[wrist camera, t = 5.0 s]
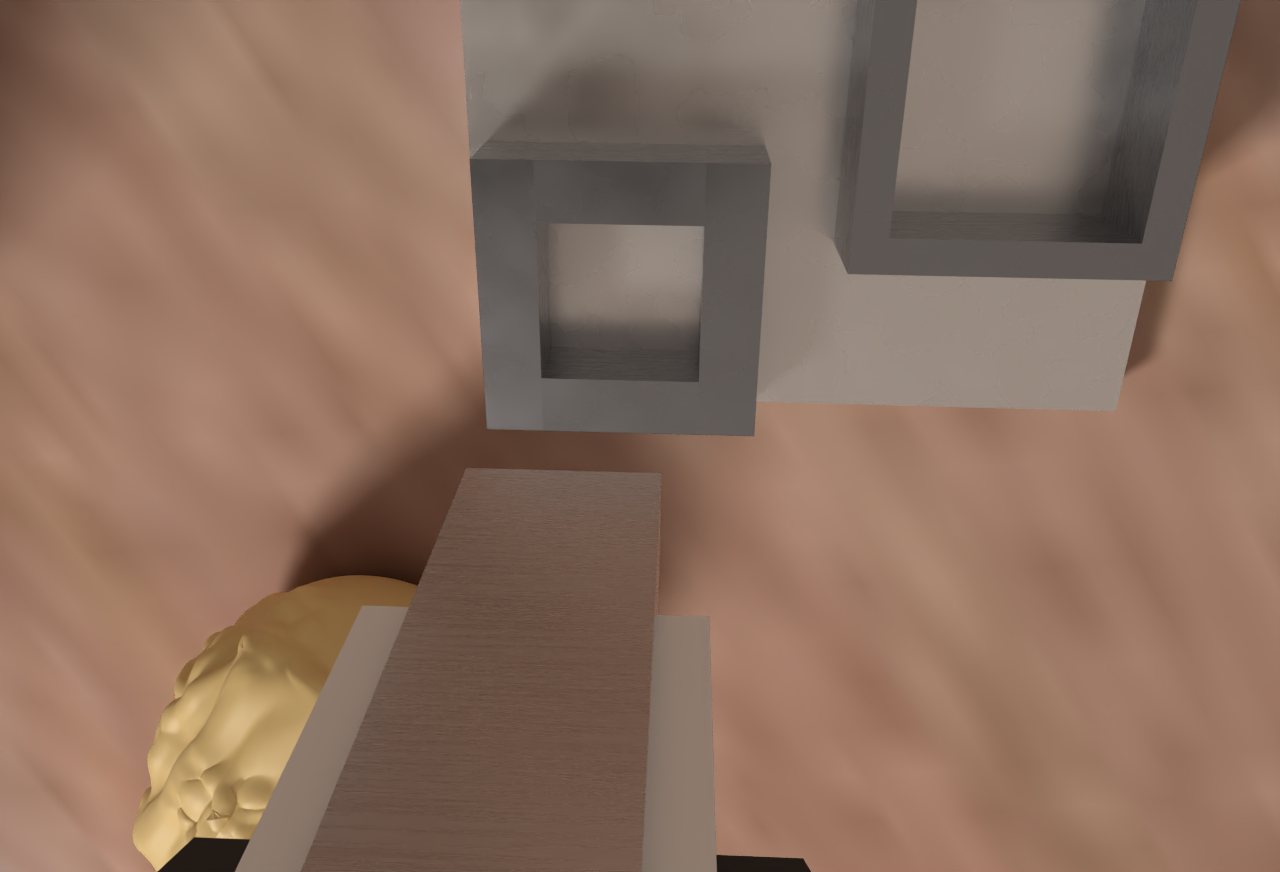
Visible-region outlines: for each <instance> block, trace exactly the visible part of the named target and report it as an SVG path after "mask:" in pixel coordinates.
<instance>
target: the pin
mask: <svg viewBox="0 0 1280 872" xmlns="http://www.w3.org/2000/svg"><path fill="white" fill-rule="evenodd" d="M660 522H661V473H641V472H604V471H566V470H529V469H492V468H466V470H465V472H464V474H463V477H462V479H461V482H460V484H459V487H458V489H457V492H456V494H455V496H454V499H453V501H452V504H451V506H450V509H449V511H448V513H447V516H446V518H445V521H444V523H443V526H442V528H441V531H440V533H439V535H438V538H437V540H436V543H435V545H434V548H433V550H432V553H431V555H430V557H429V560H428V562H427V565H426V567H425V570H424V572H423V574H422V577H421V579H420V582H419V584H418V587H417V589H416V592H415V594H414V596H413V599H412V601H411V604H410V606H409V609H408V611H407V613H406V616H405V618H404V621H403V623H402V626H401V628H400V631H399V633H398V635H397V638H396V640H395V643H394V645H393V648H392V650H391V653H390V655H389V657H388V660H387V662H386V665H385V667H384V670H383V672H382V674H381V677H380V679H379V682H378V684H377V687H376V689H375V692H374V694H373V696H372V699H371V701H370V704H369V706H368V709H367V711H366V713H365V716H364V718H363V721H362V723H361V726H360V728H359V731H358V733H357V735H356V738H355V740H354V743H353V745H352V748H351V750H350V753H349V755H348V757H347V760H346V762H345V765H344V767H343V770H342V772H341V774H340V777H339V779H338V782H337V784H336V787H335V789H334V792H333V794H332V796H331V799H330V801H329V804H328V806H327V809H326V811H325V814H324V816H323V818H322V821H321V823H320V826H319V828H318V831H317V833H316V835H315V838H314V840H313V843H312V845H311V848H310V850H309V853H308V855H307V857H306V860H305V862H304V865H303V867H302V870H301V872H642V861H643V841H644V820H645V800H646V780H647V760H648V740H649V720H650V700H651V680H652V660H653V640H654V620H655V615H659V575H660Z"/></svg>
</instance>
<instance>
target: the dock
mask: <svg viewBox="0 0 1280 872" xmlns="http://www.w3.org/2000/svg"><path fill="white" fill-rule="evenodd" d="M1240 1H1241V0H460V5H461V21H462V37H463V52H464V68H465V84H466V100H467V115H468V131H469V147H470V172H471V187H472V203H473V219H474V234H475V250H476V266H477V281H478V297H479V312H480V328H481V344H482V359H483V375H484V391H485V406H486V422H487V429H505V430H542V431H579V432H616V433H653V434H689V435H726V436H754V429H755V413H756V402H786V403H824V404H863V405H902V406H940V407H979V408H1018V409H1056V410H1095V411H1116V408H1117V403H1118V399H1119V395H1120V391H1121V386H1122V382H1123V378H1124V373H1125V369H1126V365H1127V361H1128V356H1129V352H1130V348H1131V344H1132V339H1133V335H1134V331H1135V326H1136V322H1137V318H1138V314H1139V309H1140V305H1141V301H1142V297H1143V292H1144V288H1145V284H1146V281H1172V278H1173V274H1174V270H1175V266H1176V262H1177V258H1178V253H1179V249H1180V245H1181V241H1182V237H1183V233H1184V229H1185V225H1186V221H1187V217H1188V213H1189V209H1190V205H1191V201H1192V196H1193V192H1194V188H1195V184H1196V180H1197V176H1198V172H1199V168H1200V164H1201V160H1202V156H1203V152H1204V148H1205V143H1206V139H1207V135H1208V131H1209V127H1210V123H1211V119H1212V115H1213V111H1214V107H1215V103H1216V99H1217V95H1218V91H1219V86H1220V82H1221V78H1222V74H1223V70H1224V66H1225V62H1226V58H1227V54H1228V50H1229V46H1230V42H1231V38H1232V34H1233V29H1234V25H1235V21H1236V17H1237V13H1238V9H1239V5H1240Z"/></svg>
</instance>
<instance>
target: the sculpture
mask: <svg viewBox="0 0 1280 872" xmlns="http://www.w3.org/2000/svg"><path fill="white" fill-rule="evenodd" d="M417 587H418V586H417V585H414V584H411V583H408V582H405V581H401V580H397V579H392V578H386V577H379V576H368V575H349V576H339V577H332V578H327V579H323V580H319V581H315V582H312V583H309V584H306V585H303V586H300V587H297V588H295V589H293V590H292V591H289V592H280V593H274V594H272V595H269V596H267V597H266V598H264V599H262V600H261V601H260V602H258V603H257V604H256V605H254V606H253V607H251V608H250V609H249V610H247V611H246V612H245V613H244V614H243V615H242V616H241V617H240V618H239V619H238V620H237V622H236V623H235V625H233V626H230V627H227V628H225V629H224V630H222V631H221V632H217V633H215V634H213V635H212V636H210V637H209V639H208V640H207V641H206V643H205V645H204V648H203V652H202V653H201V654H200V655H198V656H197V657H196V658H194V659H192V660H191V661H189V662H188V663H187V664H186V665H185V666H184V668H183V669H182V671H181V672H180V674H179V675H178V677H177V680H176V683H175V687H174V692H175V700H173V701H172V702H171V703H170V704H169V705H168V706H167V707H166V708H165V709H164V711H163V714H162V718H161V720H160V722H159V724H158V726H157V729H156V733H155V741H154V743H153V744H152V746H151V748H150V750H149V753H148V758H147V762H148V769H149V773H150V777H151V787H150V788H148V789H147V790H146V792H145V793H144V794H143V796H142V799H141V802H140V807H139V809H138V812H137V816H136V820H135V824H134V829H133V841H134V844H135V846H136V848H137V849H138V850H139V851H140V852H142V853H143V855H144V856H145V857H146V858H147V859H148V860H149V861H150V863H151V864H152V865H153V867H154V868H155V870H156V872H158V871H159V870H160V869H161V868H162V867H163V866H164V865H165V864H166V863H167V862H168V861H169V860H170V859H171V858H173V857H174V856H175V855H176V854H177V853H178V852H179V851H180V850H181V849H182V848H183V847H184V846H185V845H186V844H187V843H188V842H190V841H191V840H192V839H193V838H194V837H202V838H228V839H251V837H252V835H253V833H254V831H255V829H256V827H257V824H258V822H259V820H260V818H261V816H262V814H263V812H264V810H265V808H266V806H267V804H268V801H269V799H270V797H271V795H272V793H273V791H274V789H275V787H276V785H277V783H278V781H279V778H280V776H281V774H282V772H283V770H284V768H285V766H286V764H287V762H288V760H289V758H290V756H291V753H292V751H293V749H294V747H295V745H296V743H297V741H298V739H299V737H300V735H301V733H302V730H303V728H304V726H305V724H306V722H307V720H308V718H309V716H310V714H311V712H312V710H313V707H314V705H315V703H316V701H317V699H318V697H319V695H320V693H321V691H322V689H323V687H324V685H325V682H326V680H327V678H328V676H329V674H330V672H331V670H332V668H333V666H334V664H335V662H336V659H337V657H338V655H339V653H340V651H341V649H342V647H343V645H344V643H345V641H346V639H347V636H348V634H349V632H350V630H351V628H352V626H353V624H354V622H355V620H356V618H357V616H358V614H359V611H360V609H361V607H362V606H393V607H409V606H410V604H411V601H412V599H413V596H414V594H415V592H416V589H417Z"/></svg>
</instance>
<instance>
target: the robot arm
mask: <svg viewBox="0 0 1280 872" xmlns="http://www.w3.org/2000/svg"><path fill="white" fill-rule="evenodd" d="M408 609H409V607H393V606H362V607H361V609H360V611H359V614H358V616H357V618H356V620H355V622H354V624H353V626H352V628H351V630H350V632H349V634H348V636H347V639H346V641H345V643H344V645H343V647H342V649H341V651H340V653H339V655H338V657H337V659H336V662H335V664H334V666H333V668H332V670H331V672H330V674H329V676H328V678H327V680H326V682H325V685H324V687H323V689H322V691H321V693H320V695H319V697H318V699H317V701H316V703H315V705H314V707H313V710H312V712H311V714H310V716H309V718H308V720H307V722H306V724H305V726H304V728H303V730H302V733H301V735H300V737H299V739H298V741H297V743H296V745H295V747H294V749H293V751H292V753H291V756H290V758H289V760H288V762H287V764H286V766H285V768H284V770H283V772H282V774H281V776H280V778H279V781H278V783H277V785H276V787H275V789H274V791H273V793H272V795H271V797H270V799H269V801H268V804H267V806H266V808H265V810H264V812H263V814H262V816H261V818H260V820H259V822H258V824H257V827H256V829H255V831H254V833H253V835H252V837H251V839H228V838H202V837H194V838H193V839H192V840H191V841H190V842H188V843H187V844H186V845H185V846H184V847H183V848H182V849H181V850H180V851H179V852H178V853H177V854H176V855H175V856H174V857H173V858H171V859H170V860H169V861H168V862H167V863H166V864H165V865H164V866H163V867H162V868H161V869H160V870H159V871H158V872H301V870H302V867H303V865H304V862H305V860H306V857H307V855H308V853H309V850H310V848H311V845H312V843H313V840H314V838H315V835H316V833H317V831H318V828H319V826H320V823H321V821H322V818H323V816H324V814H325V811H326V809H327V806H328V804H329V801H330V799H331V796H332V794H333V792H334V789H335V787H336V784H337V782H338V779H339V777H340V774H341V772H342V770H343V767H344V765H345V762H346V760H347V757H348V755H349V753H350V750H351V748H352V745H353V743H354V740H355V738H356V735H357V733H358V731H359V728H360V726H361V723H362V721H363V718H364V716H365V713H366V711H367V709H368V706H369V704H370V701H371V699H372V696H373V694H374V692H375V689H376V687H377V684H378V682H379V679H380V677H381V674H382V672H383V670H384V667H385V665H386V662H387V660H388V657H389V655H390V653H391V650H392V648H393V645H394V643H395V640H396V638H397V635H398V633H399V631H400V628H401V626H402V623H403V621H404V618H405V616H406V613H407V611H408ZM642 872H811V871H810V869H809V868H808V866H807V864H806V863H805V861H804V859H802V858H777V857H752V856H727V855H716V825H715V790H714V755H713V720H712V685H711V650H710V616H680V615H655V620H654V640H653V660H652V680H651V700H650V720H649V740H648V760H647V780H646V800H645V820H644V841H643V861H642Z"/></svg>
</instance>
